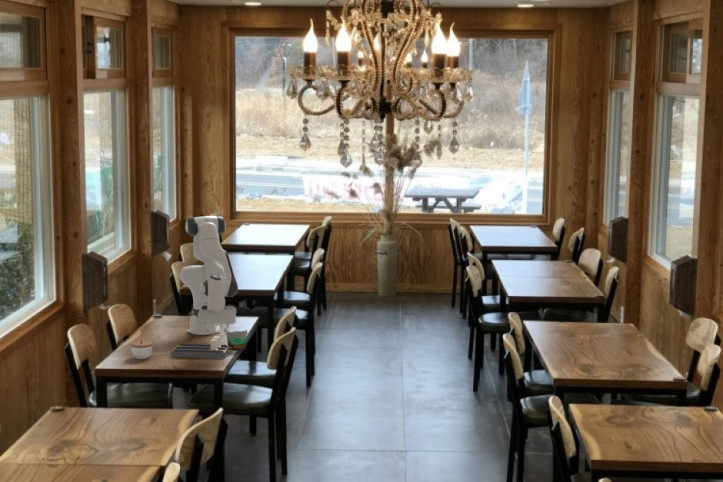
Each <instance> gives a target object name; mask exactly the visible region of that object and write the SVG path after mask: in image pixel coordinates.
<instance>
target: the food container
mask: <svg viewBox="0 0 723 482" xmlns="http://www.w3.org/2000/svg"><path fill="white" fill-rule="evenodd" d="M248 334H249V332H248V330H247V328H246V329H245V330H235V331H227V332H225V336H226V340H227V347H229V351H236V352H237V351H243V350H245V349H246V345H247V344H246V342H247V336H248Z"/></svg>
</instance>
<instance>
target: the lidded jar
mask: <svg viewBox="0 0 723 482" xmlns="http://www.w3.org/2000/svg"><path fill="white" fill-rule="evenodd" d="M130 346H131V347H130V348H131V353H132V355H133V357H135V359H136V360H145V359H149V357H150V356H151V353H152V350H153V343H152V342H151V341H148V340H143V339H140V340H137V341H136V340H135V341H133V342H131V343H130Z"/></svg>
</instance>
